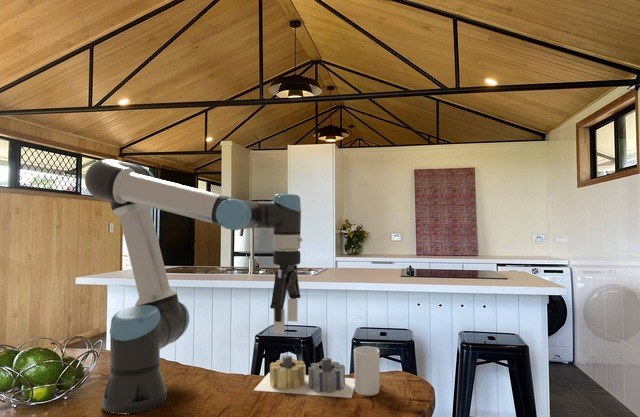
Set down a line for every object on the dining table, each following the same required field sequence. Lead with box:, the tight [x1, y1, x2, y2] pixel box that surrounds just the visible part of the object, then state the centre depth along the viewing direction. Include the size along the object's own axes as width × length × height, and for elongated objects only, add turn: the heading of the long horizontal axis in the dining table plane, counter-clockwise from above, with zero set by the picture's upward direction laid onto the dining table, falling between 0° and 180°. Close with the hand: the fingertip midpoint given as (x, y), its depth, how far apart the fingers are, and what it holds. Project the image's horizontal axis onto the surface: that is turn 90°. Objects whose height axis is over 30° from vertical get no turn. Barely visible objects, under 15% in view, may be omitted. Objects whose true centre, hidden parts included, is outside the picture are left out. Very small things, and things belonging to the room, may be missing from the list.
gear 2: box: [307, 360, 346, 393], centre depth 116 cm, size 10×10×5 cm
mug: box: [353, 345, 381, 396], centre depth 115 cm, size 10×7×12 cm, turn 166°
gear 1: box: [269, 358, 307, 390], centre depth 118 cm, size 10×10×5 cm
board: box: [253, 355, 355, 399], centre depth 117 cm, size 26×13×8 cm, turn 79°
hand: (286, 327), depth 119 cm, fingers open, 13 cm apart
